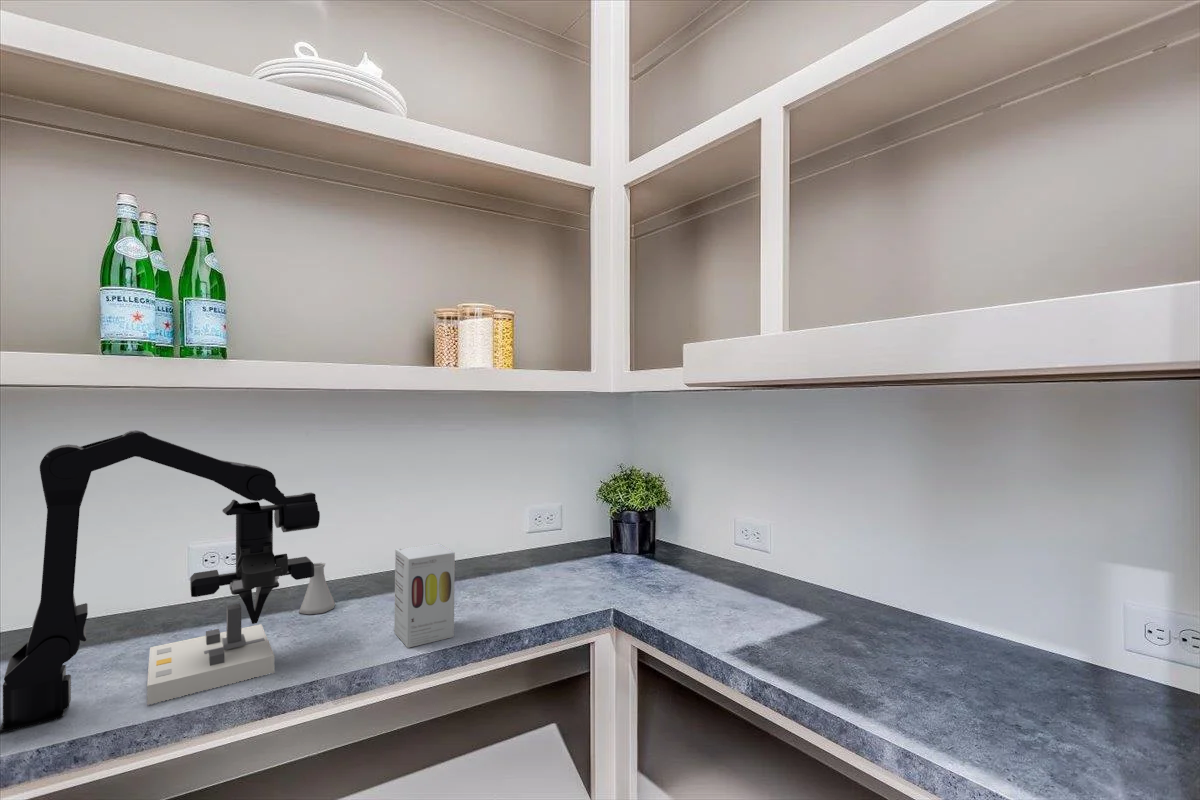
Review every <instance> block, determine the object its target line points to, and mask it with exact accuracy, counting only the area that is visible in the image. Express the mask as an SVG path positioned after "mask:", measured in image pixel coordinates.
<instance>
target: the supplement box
mask: <svg viewBox="0 0 1200 800" xmlns="http://www.w3.org/2000/svg"><path fill="white" fill-rule="evenodd" d="M394 554H395V555H394V556H395V557H394V566H395V567H394V622H393V623H394V624H393V625H394V626H393V627H394V631H393V632H394V634H395V635H396V636H397V637H398V638H399V639H400V640H401V642H402V643H403V644H404V645H405V647H406V648H408V649H409V648H413V647H418V646H423V645H425V644H430V643H434V642H438V641H442V640H446V639H451V638H454V637H455V580H456V579H455V575H456V574H455V572H456V570H455V567H456V565H455V561H456V555H455V554H456V553H455V552H454V551H453V550H451V549H450V548H448V547H446V546H444V545H442V544H441V543H440V542H438V543H434V544H426V545H418V546H412V547H406V548H405V547H404V548H396V549H395V550H394Z"/></svg>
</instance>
